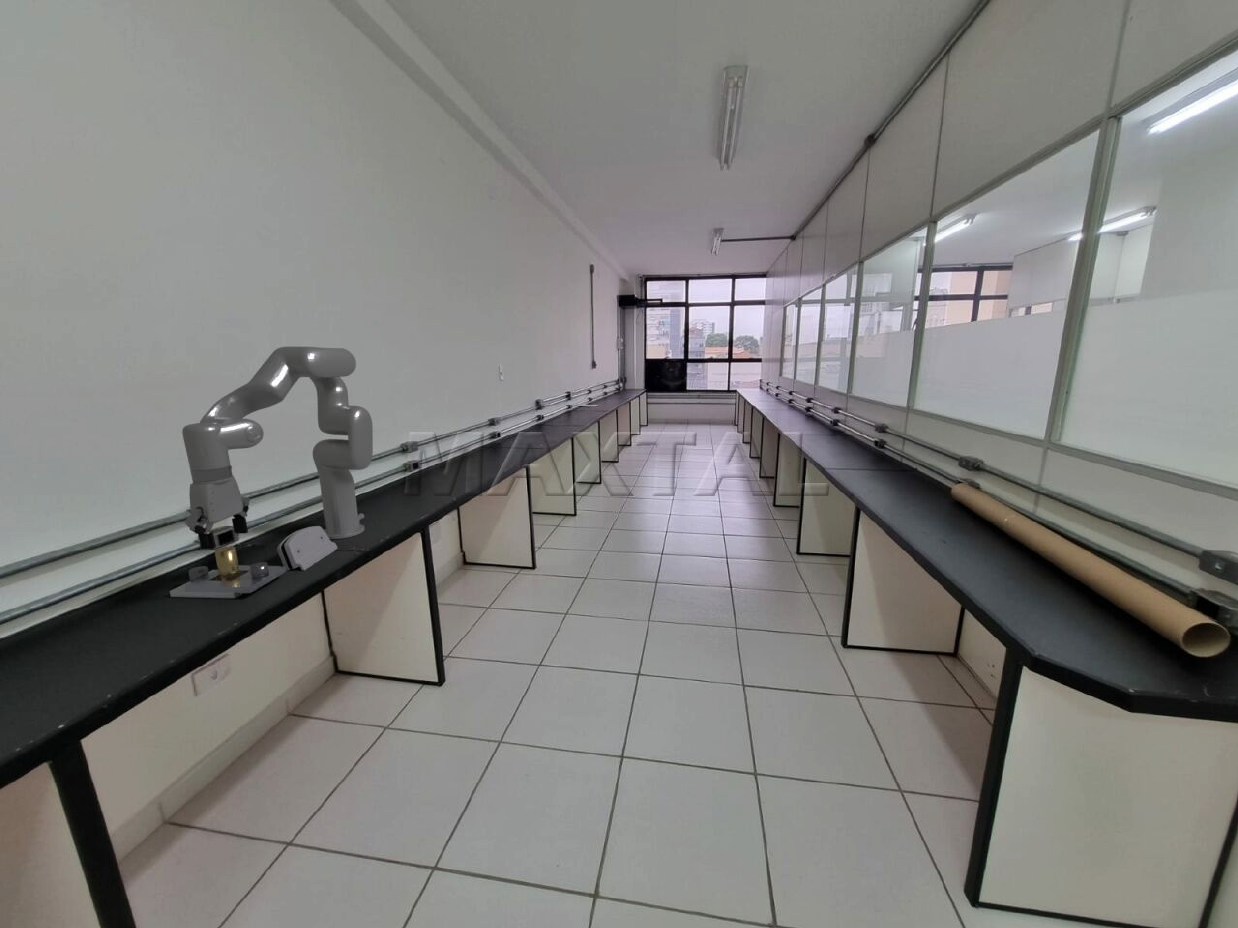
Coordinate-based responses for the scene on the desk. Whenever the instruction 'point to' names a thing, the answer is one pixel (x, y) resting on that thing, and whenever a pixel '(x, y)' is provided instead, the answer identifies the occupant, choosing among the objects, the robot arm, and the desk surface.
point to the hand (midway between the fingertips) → (225, 540)
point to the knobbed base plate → (212, 587)
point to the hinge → (305, 548)
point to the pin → (227, 563)
